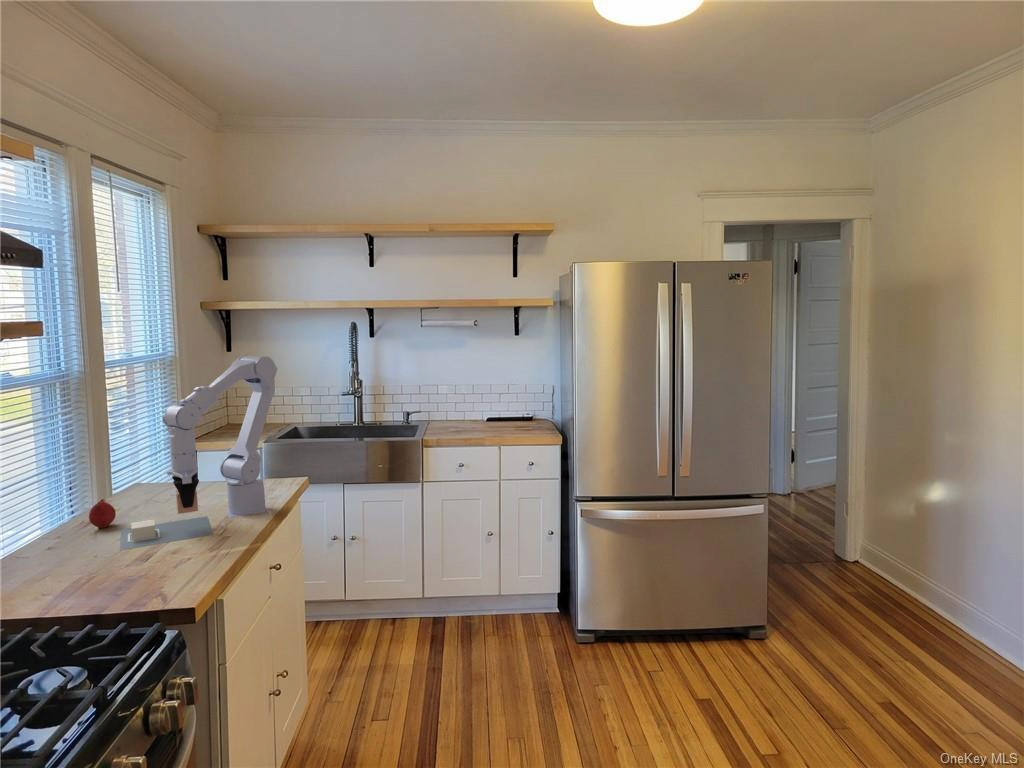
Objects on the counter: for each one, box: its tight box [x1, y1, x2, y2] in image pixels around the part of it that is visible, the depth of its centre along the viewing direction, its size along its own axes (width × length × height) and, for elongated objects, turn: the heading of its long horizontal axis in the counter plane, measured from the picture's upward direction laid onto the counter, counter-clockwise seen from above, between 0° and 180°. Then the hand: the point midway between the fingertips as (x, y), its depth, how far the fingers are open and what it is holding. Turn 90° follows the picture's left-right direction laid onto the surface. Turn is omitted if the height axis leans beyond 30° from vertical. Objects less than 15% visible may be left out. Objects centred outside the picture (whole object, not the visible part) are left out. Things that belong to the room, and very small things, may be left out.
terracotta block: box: [175, 489, 199, 515], centre depth 163 cm, size 4×4×5 cm
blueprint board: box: [119, 516, 214, 551], centre depth 162 cm, size 20×16×4 cm
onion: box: [88, 498, 116, 529], centre depth 166 cm, size 6×6×8 cm
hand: (187, 504), depth 164 cm, fingers closed on terracotta block, 4 cm apart
